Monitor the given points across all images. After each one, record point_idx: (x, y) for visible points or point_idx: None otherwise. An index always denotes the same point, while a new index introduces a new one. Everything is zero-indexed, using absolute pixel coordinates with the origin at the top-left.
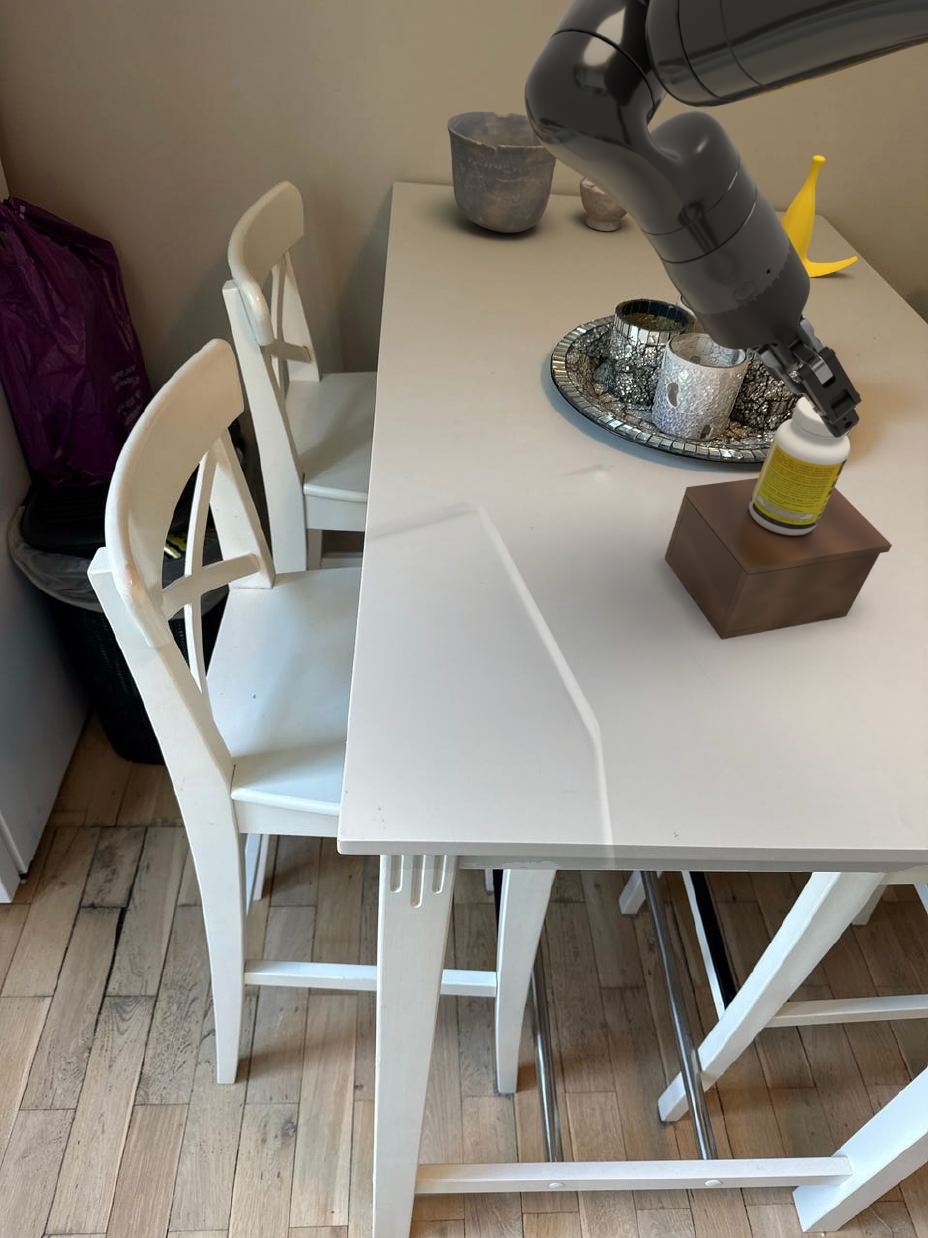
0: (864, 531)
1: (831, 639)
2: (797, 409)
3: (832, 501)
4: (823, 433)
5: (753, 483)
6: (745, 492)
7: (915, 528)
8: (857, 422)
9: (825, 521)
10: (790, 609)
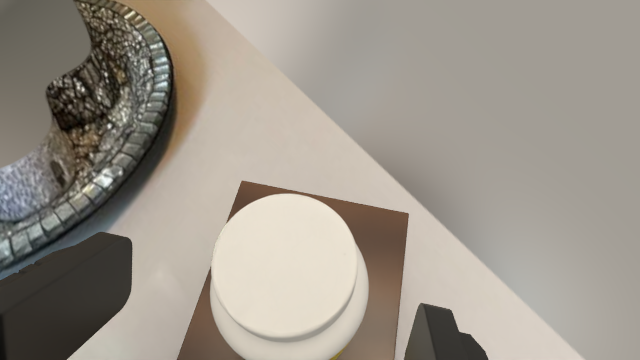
0: (373, 225)
1: (408, 309)
2: (242, 326)
3: None
4: (338, 317)
5: None
6: None
7: (310, 102)
8: (477, 343)
9: None
10: None
